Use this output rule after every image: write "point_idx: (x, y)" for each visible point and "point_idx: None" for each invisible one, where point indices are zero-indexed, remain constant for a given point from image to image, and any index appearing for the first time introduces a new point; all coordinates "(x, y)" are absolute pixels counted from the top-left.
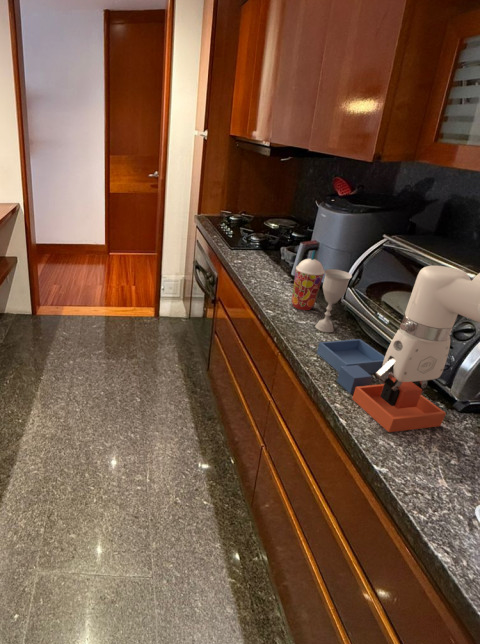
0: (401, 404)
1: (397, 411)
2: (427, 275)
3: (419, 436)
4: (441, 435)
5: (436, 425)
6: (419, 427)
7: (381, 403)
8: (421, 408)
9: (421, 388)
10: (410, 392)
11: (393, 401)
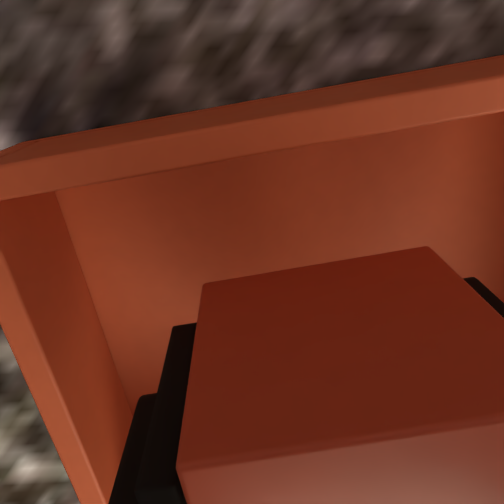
0: (419, 273)
1: None
2: None
3: (298, 3)
4: (83, 23)
5: (63, 136)
6: (236, 105)
7: None
8: (87, 314)
9: (145, 499)
10: (419, 405)
11: (502, 307)
